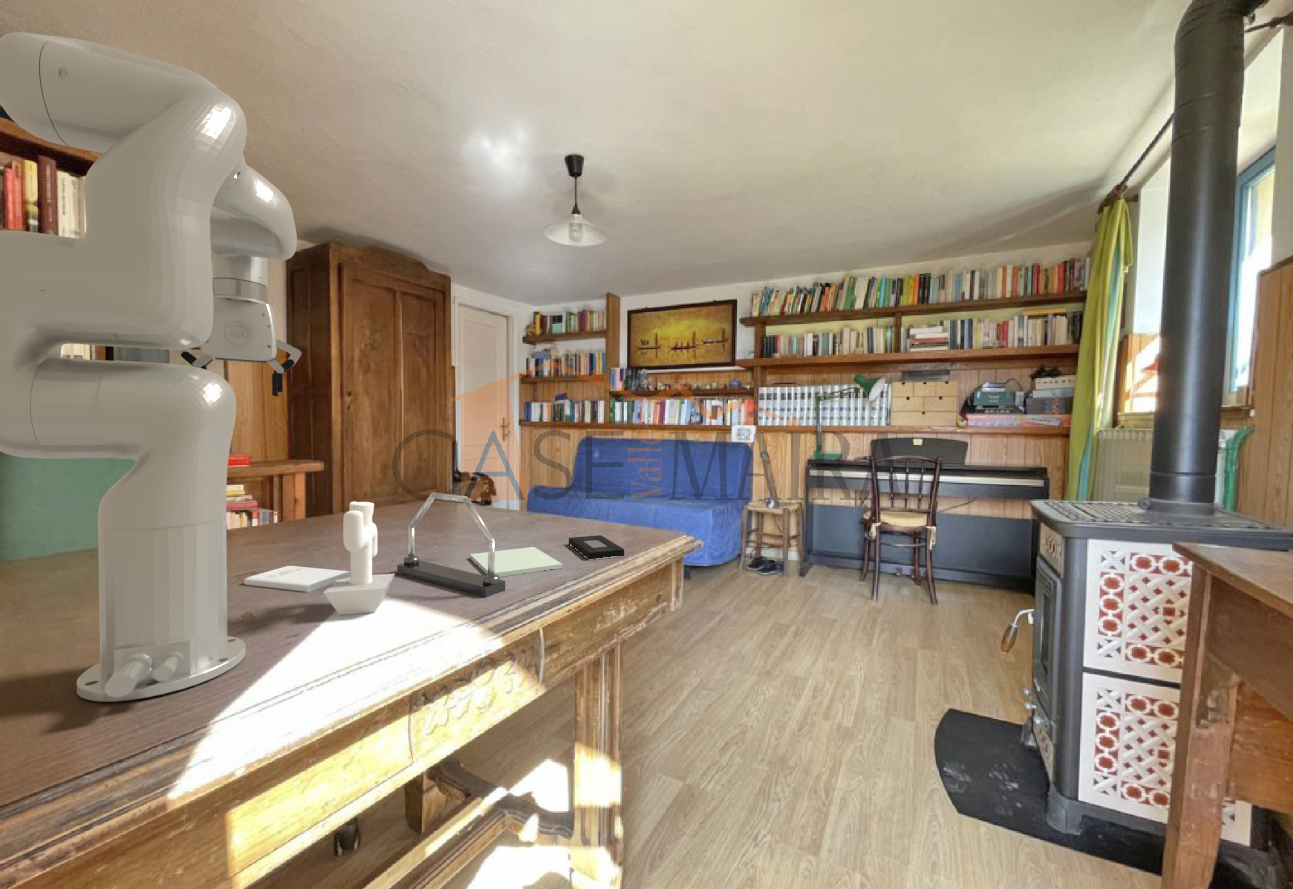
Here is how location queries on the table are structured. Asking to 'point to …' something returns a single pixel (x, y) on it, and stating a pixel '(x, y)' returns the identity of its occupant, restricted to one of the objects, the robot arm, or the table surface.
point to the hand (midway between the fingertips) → (241, 394)
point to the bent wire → (446, 574)
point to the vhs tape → (596, 547)
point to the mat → (516, 561)
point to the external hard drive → (296, 578)
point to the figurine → (359, 565)
